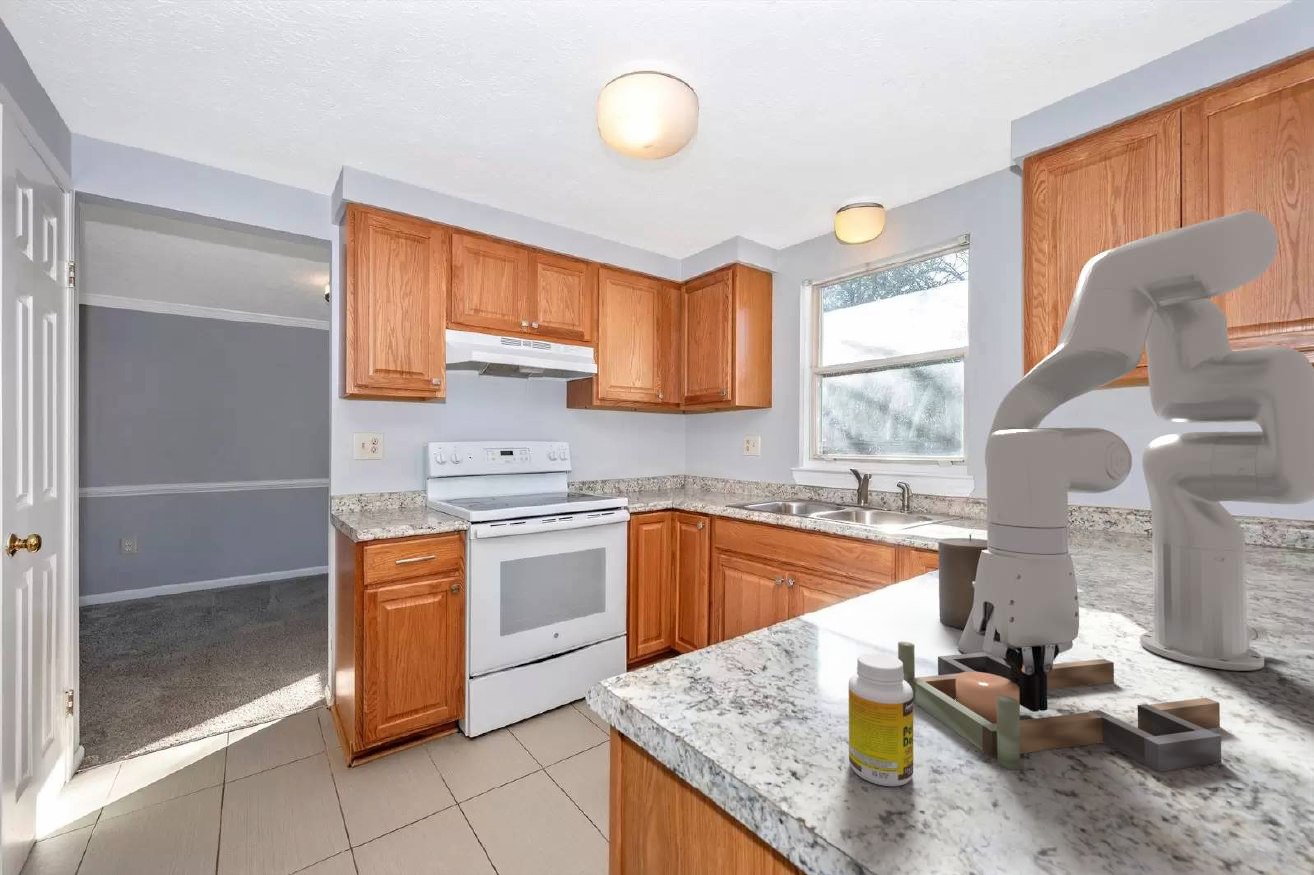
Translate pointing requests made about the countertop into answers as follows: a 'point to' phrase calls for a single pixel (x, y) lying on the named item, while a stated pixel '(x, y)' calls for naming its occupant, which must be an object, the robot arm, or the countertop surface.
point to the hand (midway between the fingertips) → (1028, 705)
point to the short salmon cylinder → (984, 692)
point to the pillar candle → (958, 578)
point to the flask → (971, 637)
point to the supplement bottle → (881, 721)
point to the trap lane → (1067, 716)
